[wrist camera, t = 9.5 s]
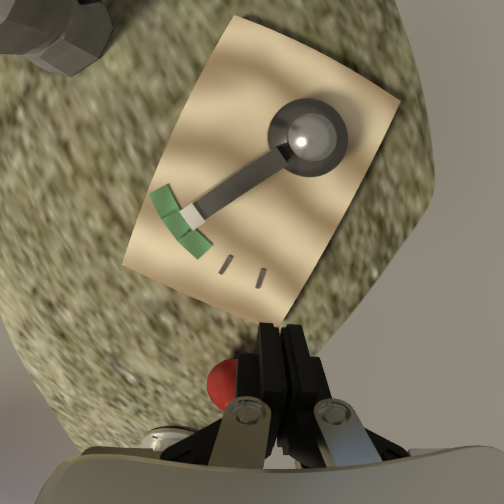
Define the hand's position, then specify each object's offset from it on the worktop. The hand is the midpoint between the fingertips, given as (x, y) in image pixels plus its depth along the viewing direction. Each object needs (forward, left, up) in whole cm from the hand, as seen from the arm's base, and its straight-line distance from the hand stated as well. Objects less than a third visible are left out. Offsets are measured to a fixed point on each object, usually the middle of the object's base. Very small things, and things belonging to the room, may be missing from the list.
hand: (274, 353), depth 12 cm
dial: (+6, +3, -17) cm, 18 cm away
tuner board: (+4, +3, -19) cm, 20 cm away
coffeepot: (+11, +26, -19) cm, 34 cm away
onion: (-16, -4, -19) cm, 25 cm away
